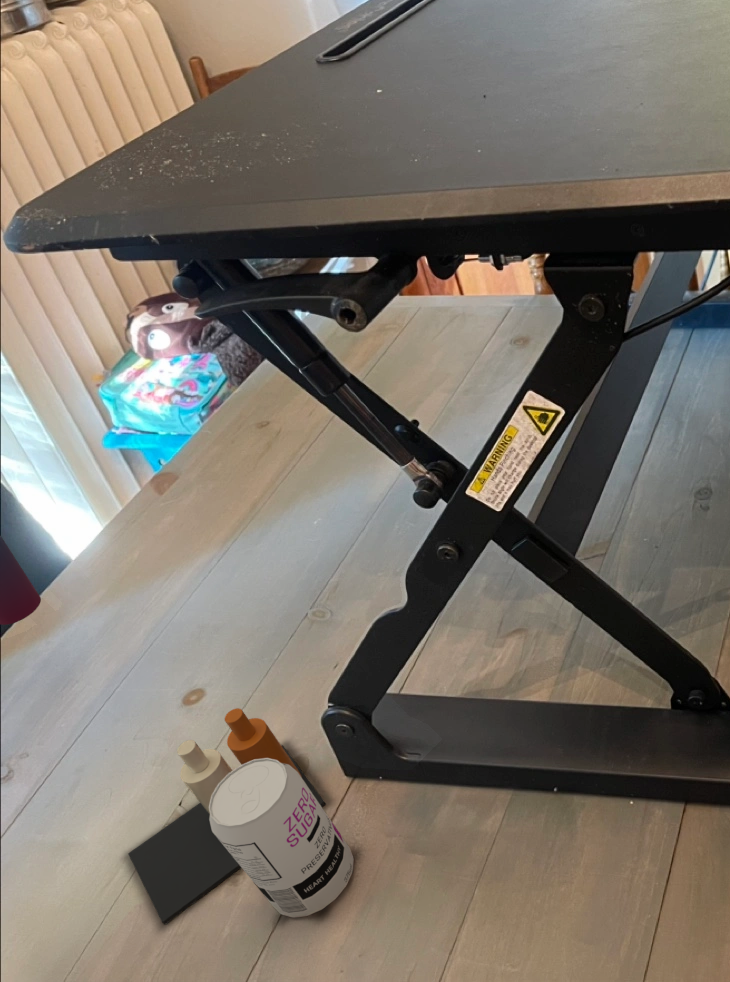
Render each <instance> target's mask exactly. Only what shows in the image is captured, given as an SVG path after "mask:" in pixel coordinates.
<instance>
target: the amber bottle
mask: <svg viewBox="0 0 730 982" xmlns="http://www.w3.org/2000/svg"><path fill="white" fill-rule="evenodd" d="M224 722H225V724H226V725H227V726H228V728H229V729H230V730H231V731H230V733H229V735H228V737H227V740H226V744H227V747H228V748H229V750H230V752H231V753H232V754H233V755H234V757H235V758H236V759H237V761H238V762H239V764H240V765H242V764H245V763H247V762H249V761H252V760H255V759H262V758H270V759H274V760H278V761H279V762H280V763H284V764H288V765H290V766H291V767H292V768H294V769H295V770H296V771H297V772H298V773H299V775H300V776H301V774H300V772H299V771H298V769H297V768H296V766H295V765H294V763H293V762H292V761H291V759H290V758H289V756H288V755H287V753H286V752H285V750H284V749H283V747H282V744H281V743H280V742H279V740H278V738H277V737H276V735H275V734H274V733H273V731H272V730H271V728H270V727H269V725H268V724H267V723H266V721H265V720H264V719H263V718H259V717H253V718H248V716H247V715H246V713H245V712H244V710H243V709H241V708H237V707H236V708H232V709H231V710H229V711H228V712H227V713H226V715H225V716H224ZM301 778H302V776H301Z"/></svg>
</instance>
